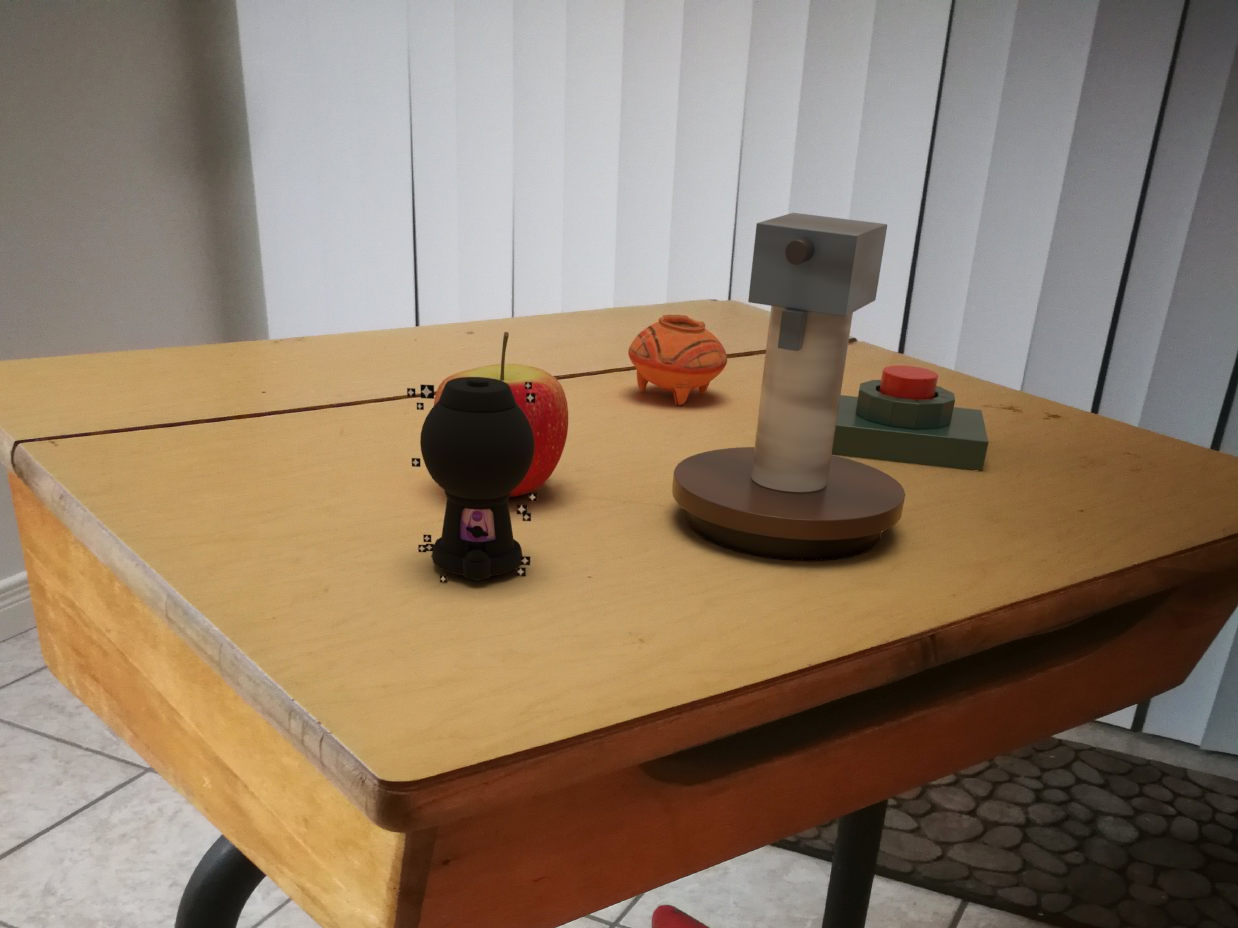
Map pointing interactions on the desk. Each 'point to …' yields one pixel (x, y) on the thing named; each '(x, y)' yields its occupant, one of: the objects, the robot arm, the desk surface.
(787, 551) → the base
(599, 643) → the desk surface
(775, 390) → the grey-topped column stand
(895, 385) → the button
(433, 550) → the gumball machine
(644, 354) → the pot
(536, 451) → the apple
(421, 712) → the desk surface
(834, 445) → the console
